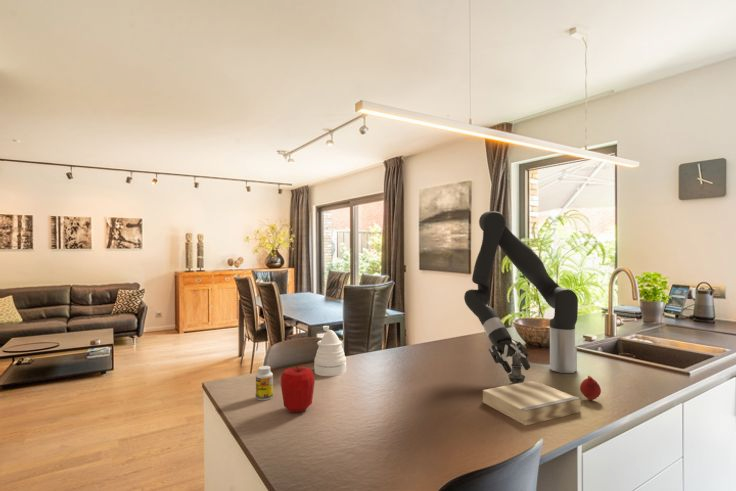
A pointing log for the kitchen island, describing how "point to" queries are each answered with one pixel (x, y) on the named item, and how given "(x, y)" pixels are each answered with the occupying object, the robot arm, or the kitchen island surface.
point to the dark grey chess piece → (516, 371)
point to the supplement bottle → (264, 383)
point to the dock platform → (531, 402)
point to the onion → (590, 388)
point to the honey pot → (330, 355)
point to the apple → (297, 388)
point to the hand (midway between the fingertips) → (519, 370)
